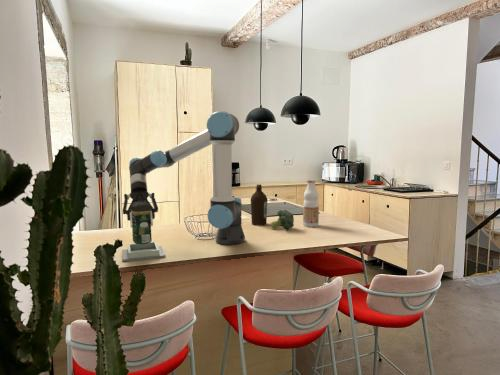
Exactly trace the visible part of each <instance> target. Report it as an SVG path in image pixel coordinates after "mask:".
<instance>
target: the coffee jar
mask: <svg viewBox="0 0 500 375" xmlns="http://www.w3.org/2000/svg"><path fill="white" fill-rule="evenodd" d="M131 212H132V229H131V230H132V234H131V235H132V242H133V244H147V243H150V242H153V241H152V226H151V209H150V205H149V204H148V203H145V202H143V201H140V202H134V203H133V204H132V205H131Z"/></svg>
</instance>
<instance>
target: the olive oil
mask: <svg viewBox="0 0 500 375" xmlns="http://www.w3.org/2000/svg"><path fill="white" fill-rule="evenodd" d="M255 188H256V190H255V192H254V193H253V194H252V195H251V197H250V213H251V224H252V225H253V226H265V225H267V217H268V197H267V195H266V194H265V192H264V191H263V188H262V184H256V185H255Z"/></svg>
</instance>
